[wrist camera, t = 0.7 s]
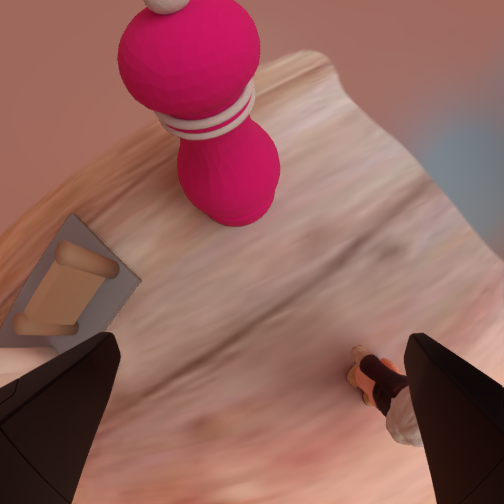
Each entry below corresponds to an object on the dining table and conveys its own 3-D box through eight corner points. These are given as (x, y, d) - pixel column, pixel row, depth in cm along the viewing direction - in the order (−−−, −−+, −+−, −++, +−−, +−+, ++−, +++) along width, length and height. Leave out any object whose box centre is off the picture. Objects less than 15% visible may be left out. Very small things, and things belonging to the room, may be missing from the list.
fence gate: (49, 342, 25) (-11, 342, 17) (61, 357, 24) (1, 362, 17) (6, 420, 23) (-45, 431, 16) (16, 434, 23) (-34, 449, 15)
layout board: (75, 214, 28) (25, 184, 20) (141, 280, 26) (92, 263, 18) (-18, 373, 26) (-66, 376, 18) (30, 443, 23) (-18, 460, 16)
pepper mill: (298, 196, 26) (317, -32, 7) (228, 251, 26) (102, 75, 6) (244, 139, 28) (197, -70, 8) (179, 188, 27) (49, 7, 8)
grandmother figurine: (414, 386, 22) (506, 425, 10) (383, 422, 22) (454, 489, 9) (350, 327, 24) (413, 330, 11) (316, 364, 23) (349, 405, 11)
